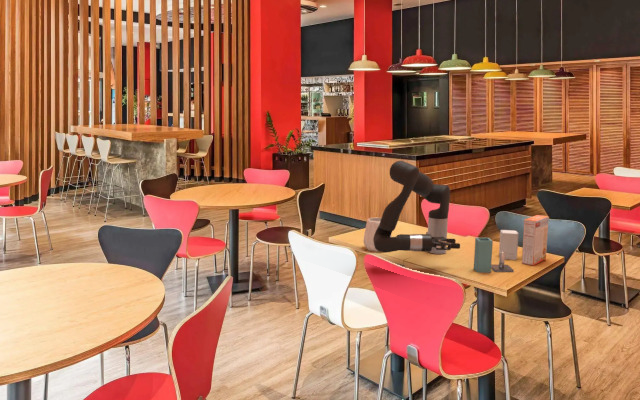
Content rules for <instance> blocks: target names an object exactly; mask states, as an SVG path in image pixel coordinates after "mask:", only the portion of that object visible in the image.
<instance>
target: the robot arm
mask: <svg viewBox="0 0 640 400" xmlns="http://www.w3.org/2000/svg"><path fill="white" fill-rule="evenodd" d="M389 177H390V180H392V181H394V182H395V183H398V184H400V185H402V189H401V191H400V193H399V194H398V195H397V197H395V198H394V199H393V200H391V201H390V202H389V203H388V204H387V205H386V207H385V208H384V210H383V212H382V216H381V217H380V218H381V221H380V224H379V226H378V228H377V230H376V232H375V235H374V238H373V242H374V246H375V249H376V250H377V251H379V253H392V252H397V251H398V252H399V251H405V252H408V251H411V252H423V253H426V252H427V253H429V254H430V253H431V254H433V255H434V254H435V255H442V254H446V253H447V251H451V250H452V249H453V250H454V249H457V250H459V249H460V248H461V243H459V242H456V238H448V225H449V224H448V223H449V219H448V218H449V212H450V200H451V187H450V186H449V185H447V184H436V183H434V182H433V179H432V178H431V177H429V175H427V174H425V173H423V172H421V171H420V169H419V168H418V166H416V165H413V164H411V163H408V162H406V161H404V160H396V161H395V162H393V163H392V165H391V166H390V168H389ZM412 192H413V193H415V194H417V195H419V196H420V197H422V198H424V199H425V200H426V201H427V202H428V203H431V204H437V205H438V204H439V207H438V208H436V209H435V208H434V209H431V210H430V211H428V217H427V219H428V222H427V231H426V233H411V234H410V233H409V234H403V233H401V234H399V233H398V234H396V236H392V233H393V231H394V230H395V229H396V227H397V224H398V222H399V219H400V216H401V213H402V211H403V209H404V207H405V205H406V203H407V201H408V200H409V198H410V196H411V193H412ZM390 236H391V237H390Z"/></svg>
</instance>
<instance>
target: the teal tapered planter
mask: <svg viewBox="0 0 640 400" xmlns="http://www.w3.org/2000/svg"><path fill="white" fill-rule="evenodd" d="M474 239H475V241H474V254H473V255H474V257H473V269H474V271H475V272H476V273H477V274H478V273H482V274H484V273H485V274H489V273H490V274H491V273H492V269H491V264H492V259H493V244H494V240H492V239H491V238H490V237H475V238H474Z"/></svg>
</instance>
